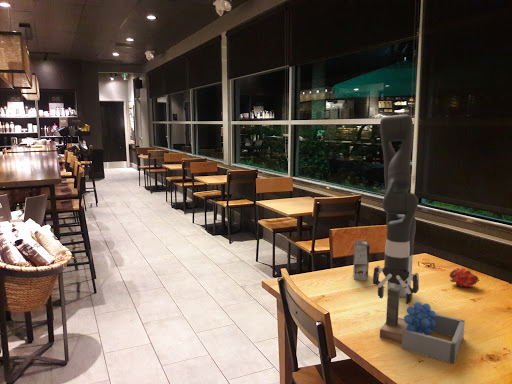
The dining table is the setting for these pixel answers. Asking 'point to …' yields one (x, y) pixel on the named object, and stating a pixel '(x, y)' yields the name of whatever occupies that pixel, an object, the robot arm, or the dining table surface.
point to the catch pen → (436, 339)
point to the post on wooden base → (393, 318)
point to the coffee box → (361, 260)
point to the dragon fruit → (463, 277)
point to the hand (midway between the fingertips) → (394, 300)
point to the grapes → (420, 318)
